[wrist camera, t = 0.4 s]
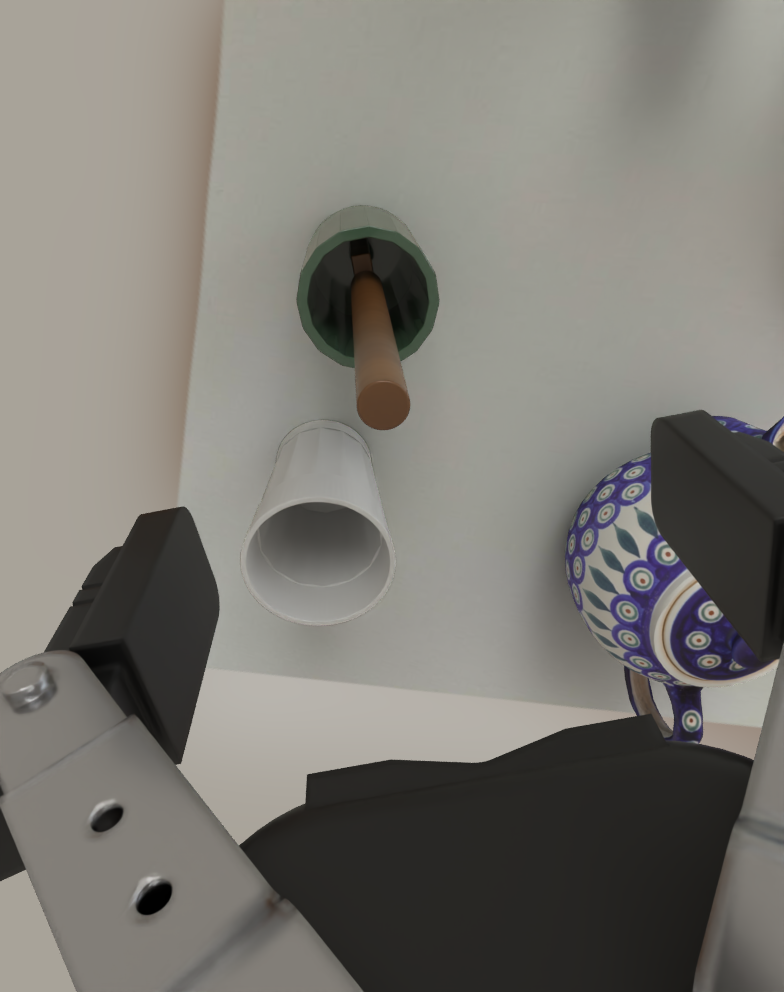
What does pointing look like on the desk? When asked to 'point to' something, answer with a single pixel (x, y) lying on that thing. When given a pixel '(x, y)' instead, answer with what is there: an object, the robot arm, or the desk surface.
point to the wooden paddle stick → (375, 348)
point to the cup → (319, 530)
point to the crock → (393, 263)
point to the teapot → (654, 598)
